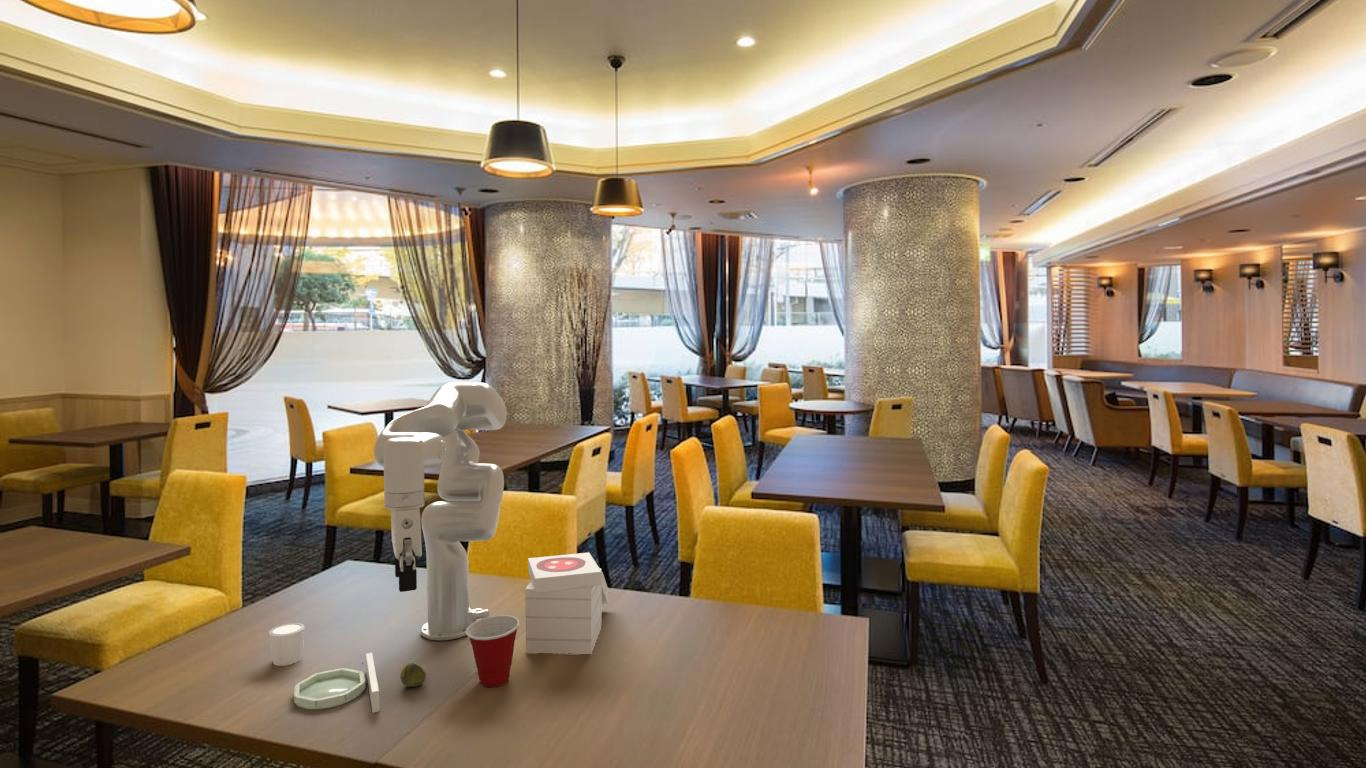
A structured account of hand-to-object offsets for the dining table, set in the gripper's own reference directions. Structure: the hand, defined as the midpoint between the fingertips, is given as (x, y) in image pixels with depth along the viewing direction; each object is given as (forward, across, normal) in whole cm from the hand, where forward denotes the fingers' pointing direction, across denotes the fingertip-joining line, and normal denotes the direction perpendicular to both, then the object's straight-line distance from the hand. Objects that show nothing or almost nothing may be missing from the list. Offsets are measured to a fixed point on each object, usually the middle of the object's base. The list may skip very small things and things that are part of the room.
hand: (405, 583), depth 141 cm
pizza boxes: (+21, +13, -38) cm, 45 cm away
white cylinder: (+21, +24, +22) cm, 39 cm away
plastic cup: (+22, -5, -16) cm, 28 cm away
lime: (+22, 0, -1) cm, 22 cm away
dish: (+22, +4, +14) cm, 26 cm away
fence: (+21, +2, +6) cm, 22 cm away
